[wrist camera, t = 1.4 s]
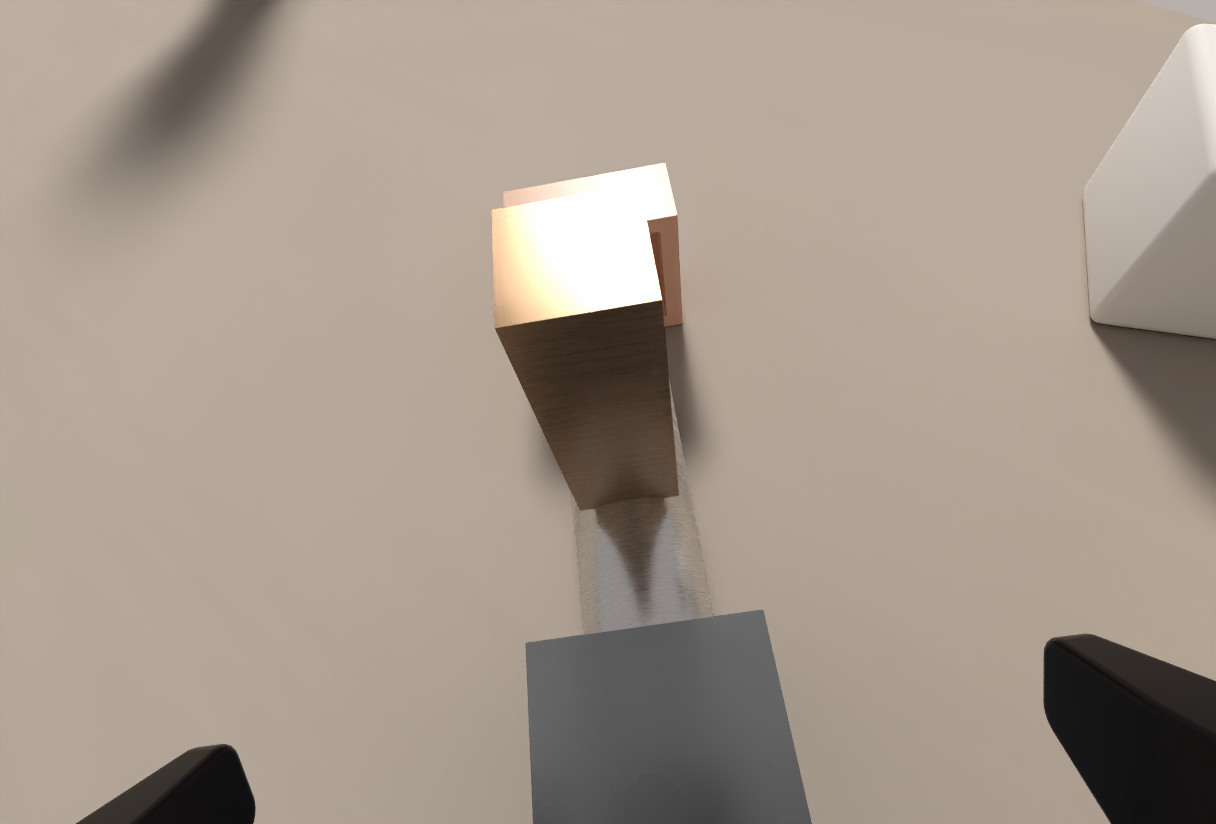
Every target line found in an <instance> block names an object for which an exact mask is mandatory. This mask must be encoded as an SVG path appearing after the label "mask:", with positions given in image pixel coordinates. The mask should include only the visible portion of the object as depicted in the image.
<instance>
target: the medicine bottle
mask: <svg viewBox="0 0 1216 824" xmlns="http://www.w3.org/2000/svg"><path fill="white" fill-rule="evenodd" d="M1083 209H1084V226H1085V242H1086V259H1087V275H1088V292H1089V308H1090V317H1091V319H1092V320H1094V321H1095V322H1097V323H1101V324H1109V325H1116V326H1123V327H1131V328H1138V329H1146V330H1153V331H1161V332H1168V333H1176V334H1183V335H1190V336H1198V337H1205V338H1213V339H1216V24H1199V25H1196V26H1193V27H1191V28H1190V29H1189V30H1187V31H1186V32H1185V33H1184V35H1183V36H1182V38H1181V40H1180V41H1179V43H1178V44H1177V46H1176V47H1175V49H1174V50H1173V52H1172V53H1171V55H1170V57H1169V58H1168V60H1167V61H1166V63H1165V64H1164V66H1163V67H1162V69H1161V70H1160V72H1159V74H1158V75H1157V77H1156V78H1155V80H1154V81H1153V83H1152V84H1151V86H1150V87H1149V89H1148V91H1147V92H1146V94H1145V95H1144V97H1143V98H1142V100H1141V101H1140V103H1139V104H1138V106H1137V108H1136V109H1135V111H1134V112H1133V114H1132V115H1131V117H1130V118H1129V120H1128V121H1127V123H1126V125H1125V126H1124V128H1123V129H1122V131H1121V132H1120V134H1119V135H1118V137H1117V138H1116V140H1115V142H1114V143H1113V145H1112V146H1111V148H1110V149H1109V151H1108V152H1107V154H1106V155H1105V157H1104V159H1103V160H1102V162H1101V163H1100V165H1099V166H1098V168H1097V169H1096V171H1095V172H1094V174H1093V176H1092V177H1091V179H1090V180H1089V182H1088V183H1087V185H1086V186H1085V188H1084V191H1083Z"/></svg>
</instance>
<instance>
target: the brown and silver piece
mask: <svg viewBox="0 0 1216 824" xmlns="http://www.w3.org/2000/svg"><path fill="white" fill-rule="evenodd" d="M492 236H493V277H494V318H495V330H496V332H497V334H498V336H499V338H500V340H501V343H502V345H503V347H504V349H505V351H506V353H507V355H508V358H509V360H510V362H511V364H512V366H513V368H514V370H515V373H516V375H517V377H518V379H519V381H520V383H521V385H522V388H523V390H524V392H525V394H526V396H527V398H528V400H529V403H530V405H531V407H532V409H533V411H534V413H535V415H536V418H537V420H538V422H539V424H540V426H541V428H542V430H543V433H544V435H545V437H546V439H547V441H548V443H549V445H550V448H551V450H552V452H553V454H554V456H555V458H556V460H557V463H558V465H559V467H560V469H561V471H562V473H563V475H564V478H565V480H566V482H567V484H568V486H569V488H570V490H571V494H572V506H573V517H574V529H575V541H576V552H577V564H578V575H579V587H580V599H581V610H582V622H583V633H584V635H586V634H593V633H600V632H607V631H614V630H621V629H628V628H636V627H643V626H650V625H657V624H664V623H671V622H678V621H685V620H693V619H700V618H707V617H714V615H713V610H712V605H711V599H710V594H709V589H708V583H707V578H706V573H705V567H704V562H703V557H702V551H701V546H700V541H699V535H698V530H697V525H696V519H695V514H694V509H693V503H692V498H691V493H690V487H689V482H688V477H687V471H686V466H685V461H684V455H683V450H682V445H681V439H680V434H679V429H678V423H677V418H676V413H675V407H674V402H673V397H672V391H671V386H670V381H669V374H668V363H667V351H666V340H665V329H664V317H663V306H662V297H661V292H660V287H659V282H658V277H657V272H656V267H655V262H654V256H653V251H652V246H651V241H650V236H649V231H648V226H647V221H646V215H645V210H644V205H643V200H642V195H641V190H640V185H639V184H634V185H628V186H623V187H617V188H611V189H606V190H600V191H595V192H589V193H584V194H578V195H573V196H567V197H562V198H556V199H551V200H545V201H539V202H534V203H528V204H523V205H517V206H512V207H506V208H501V209H495V210H492Z"/></svg>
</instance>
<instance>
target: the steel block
mask: <svg viewBox="0 0 1216 824" xmlns="http://www.w3.org/2000/svg"><path fill="white" fill-rule="evenodd" d="M526 664H527V688H528V712H529V736H530V760H531V783H532V807H533V824H812V823H811V818H810V814H809V810H808V805H807V801H806V796H805V792H804V787H803V783H802V779H801V774H800V770H799V765H798V761H797V757H796V752H795V748H794V743H793V739H792V735H791V730H790V726H789V721H788V717H787V712H786V708H785V704H784V699H783V695H782V690H781V686H780V682H779V677H778V673H777V668H776V664H775V660H774V655H773V651H772V646H771V642H770V637H769V633H768V629H767V624H766V620H765V615H764V611H763V610H757V611H750V612H742V613H735V614H728V615H721V616H714V617H707V618H700V619H693V620H685V621H678V622H671V623H664V624H657V625H650V626H643V627H636V628H628V629H621V630H614V631H607V632H600V633H593V634H586V635H578V636H571V637H564V638H557V639H550V640H543V641H536V642H529V643H526Z"/></svg>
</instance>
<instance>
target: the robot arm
mask: <svg viewBox="0 0 1216 824" xmlns="http://www.w3.org/2000/svg"><path fill="white" fill-rule="evenodd" d="M1044 709H1045V714H1046V717H1047V720H1048V722H1049V724H1050V726H1051V728H1052V730H1053V732H1054V733H1055V735H1056V737H1057V738H1058V740H1059V741H1060V743H1061V745H1062V746H1063V748H1064V749H1065V751H1066V753H1067V754H1068V756H1069V757H1070V759H1071V761H1072V762H1073V764H1074V765H1075V767H1076V769H1077V770H1078V772H1079V773H1080V775H1081V777H1082V778H1083V780H1084V781H1085V783H1086V785H1087V786H1088V788H1089V789H1090V791H1091V793H1092V794H1093V796H1094V797H1095V799H1096V801H1097V802H1098V804H1099V805H1100V807H1101V809H1102V810H1103V812H1104V813H1105V815H1106V817H1107V818H1108V820H1109V822H1110V823H1111V824H1216V681H1214V680H1211V679H1209V678H1206V677H1203V676H1201V675H1198V674H1195V673H1193V672H1190V671H1188V670H1185V669H1182V668H1180V667H1177V666H1174V665H1172V664H1169V663H1167V662H1164V661H1161V660H1159V659H1156V658H1153V657H1151V656H1148V655H1146V654H1143V653H1140V652H1138V651H1135V650H1132V649H1130V648H1127V647H1125V646H1122V645H1119V644H1117V643H1114V642H1111V641H1109V640H1106V639H1103V638H1101V637H1098V636H1095V635H1092V634H1078V635H1071V636H1063V637H1055V638H1052V639H1050V640H1049V641H1048V642H1047V643H1046V645H1045V647H1044ZM254 818H255V800H254V797H253V794H252V791H251V788H250V786H249V783H248V780H247V778H246V775H245V772H244V770H243V767H242V764H241V761H240V759H239V756H238V754H237V752H236V750H235V749H234V748H233V747H232V746H230V745H226V744H219V745H211V746H203V747H197V748H193V749H191V750H189V751H187V752H185V753H184V754H182V755H180V756H179V757H177V758H176V759H174V760H173V761H171V762H170V763H168V764H167V765H165V766H164V767H162V768H160V769H159V770H157V771H156V772H154V773H153V774H151V775H150V776H148V777H147V778H145V779H144V780H142V781H140V782H139V783H137V784H136V785H134V786H133V787H131V788H130V789H128V790H127V791H125V792H124V793H122V794H121V795H119V796H117V797H116V798H114V799H113V800H111V801H110V802H108V803H107V804H105V805H104V806H102V807H101V808H99V809H97V810H96V811H94V812H93V813H91V814H90V815H88V816H87V817H85V818H84V819H82V820H81V821H79V822H78V823H76V824H253V823H254Z"/></svg>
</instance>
